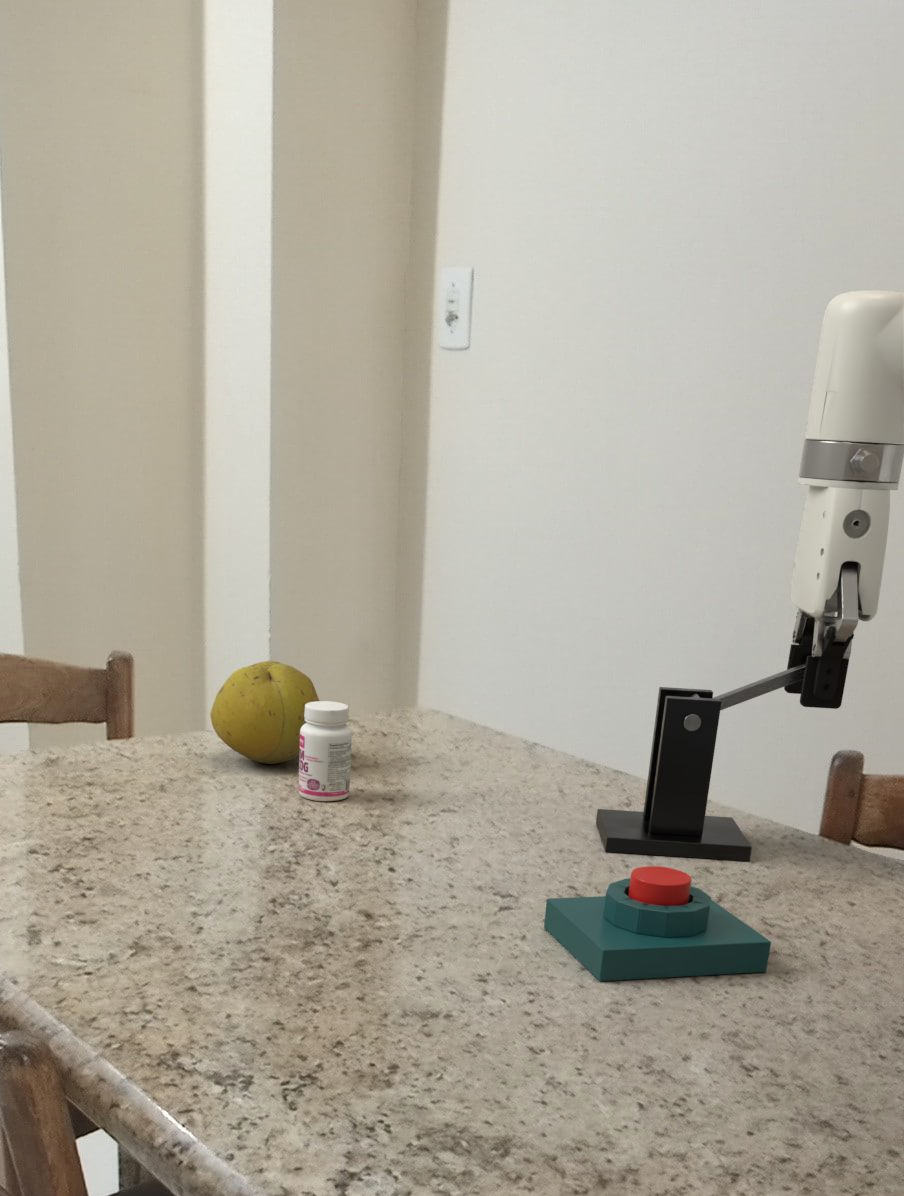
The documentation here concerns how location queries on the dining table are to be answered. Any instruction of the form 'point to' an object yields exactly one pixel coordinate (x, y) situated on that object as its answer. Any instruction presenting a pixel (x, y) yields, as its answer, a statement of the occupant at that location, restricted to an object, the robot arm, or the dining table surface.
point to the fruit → (263, 711)
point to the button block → (654, 936)
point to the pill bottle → (325, 752)
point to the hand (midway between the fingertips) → (811, 697)
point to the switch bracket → (678, 788)
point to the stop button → (660, 886)
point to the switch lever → (762, 685)
